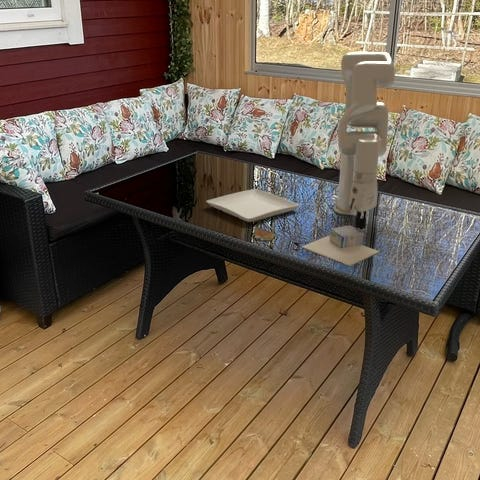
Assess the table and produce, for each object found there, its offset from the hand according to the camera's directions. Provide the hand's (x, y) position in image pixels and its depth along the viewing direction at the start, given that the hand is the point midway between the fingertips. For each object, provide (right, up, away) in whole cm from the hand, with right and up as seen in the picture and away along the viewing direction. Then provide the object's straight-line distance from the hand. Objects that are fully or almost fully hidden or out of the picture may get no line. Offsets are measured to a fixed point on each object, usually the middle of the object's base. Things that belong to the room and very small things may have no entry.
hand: (360, 227), depth 188 cm
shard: (-34, -3, +7) cm, 35 cm away
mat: (-8, -7, -4) cm, 12 cm away
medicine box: (-1, -2, +1) cm, 3 cm away
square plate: (-36, +7, +33) cm, 50 cm away
